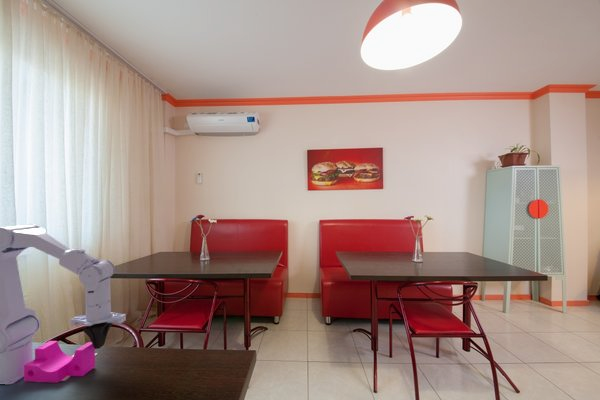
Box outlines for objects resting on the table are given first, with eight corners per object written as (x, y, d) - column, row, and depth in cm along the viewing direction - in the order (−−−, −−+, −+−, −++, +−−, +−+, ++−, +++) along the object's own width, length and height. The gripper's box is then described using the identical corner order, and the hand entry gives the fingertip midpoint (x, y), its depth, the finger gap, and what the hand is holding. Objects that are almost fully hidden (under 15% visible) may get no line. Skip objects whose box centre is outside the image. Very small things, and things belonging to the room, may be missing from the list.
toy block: (24, 381, 64) (23, 354, 64) (50, 365, 70) (49, 340, 70) (72, 383, 63) (72, 356, 63) (95, 366, 69) (94, 342, 69)
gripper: (60, 309, 65) (61, 357, 65) (113, 307, 65) (114, 354, 65) (82, 298, 72) (83, 341, 72) (130, 296, 72) (130, 339, 72)
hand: (99, 346), depth 69 cm, fingers closed
